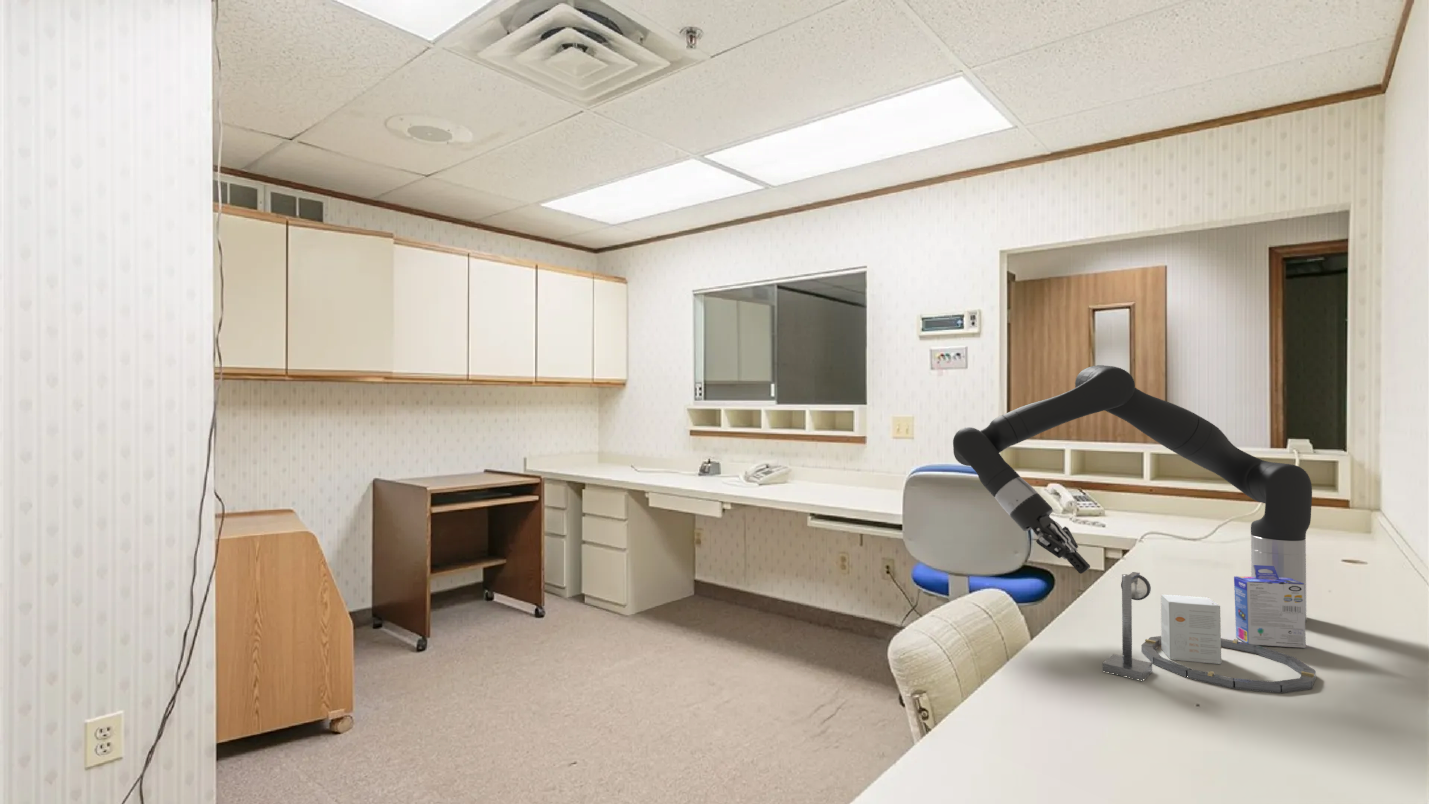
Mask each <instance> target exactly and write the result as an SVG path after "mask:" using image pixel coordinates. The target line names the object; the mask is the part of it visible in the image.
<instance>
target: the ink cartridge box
mask: <svg viewBox="0 0 1429 804" xmlns="http://www.w3.org/2000/svg"><path fill="white" fill-rule="evenodd" d="M1261 569H1268V570H1271V571H1272V572H1273V573H1259V572H1258V570H1261ZM1254 570H1255V575H1256V577H1251V576H1237V575H1236V576H1233V584H1234V587H1233V589H1234V606H1235V609H1234V610H1235V613H1234V615H1235V638H1236V639H1237V640H1240V642H1244V643H1249V644H1254V645H1257V646H1258V645H1259V646H1269V647H1282V648H1283V647H1286V648H1300V649H1301V648H1303V649H1305V648H1306V647H1307V643H1306V642H1307V641H1306V639H1307V638H1306V635H1307V634H1306V621H1305V585H1304V583H1301V582H1298V581H1296V580H1293V579H1291V578H1278V575H1277V572H1276V570H1275V567H1274V566H1262V565H1254Z"/></svg>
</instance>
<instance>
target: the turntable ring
mask: <svg viewBox="0 0 1429 804" xmlns="http://www.w3.org/2000/svg"><path fill="white" fill-rule="evenodd" d="M1160 646H1161V635H1156V636H1150V637H1149V638H1148V639H1147V638H1146V639H1145V641H1144V642H1143V643H1142V644H1141V653H1142V654H1143V655H1144V656H1145V657H1146V658H1147V659H1148V660H1149V661H1150V663H1152V665H1154V664H1155V665H1154V666H1157V667H1159V668H1162V667H1163V668H1162V669H1164V670H1166V669H1167V671H1169V670H1170V671H1169V672H1171V671H1172V672H1171V673H1174V674H1176V673H1178V674H1177V675H1179V674H1180V675H1179V676H1181V675H1182V676H1181V677H1183V676H1185V677H1184V678H1186V677H1187V676H1188V677H1187V679H1190V678H1191V680H1194V679H1196V680H1195V681H1199V682H1202V683H1208V684H1212V685H1215V684H1216V686H1220V687H1224V688H1228V689H1229V688H1230V689H1235V690H1243V691H1252V692H1253V691H1255V692H1265V693H1275V694H1285V693H1292V692H1300V691H1307V690H1312V689H1313V687H1314V684H1315V681H1316V680H1317V679H1316V678H1317V673H1316V671H1317V670H1315V669H1314V668H1312V667H1310V666H1309V665H1307V664H1306V663H1304V662H1303V661H1302V660H1300V659H1298V658H1297V657H1295V656H1292V655H1290V654H1289V655H1288V654H1286V653H1282V652H1280V651H1277V650H1273V649H1270V648H1268V647H1264V646H1263V645H1254V644H1249V643H1245V642H1243V641H1239V639H1238V638H1234V639H1233V640H1232V639H1228V638H1223V637H1221V648H1224V649H1225V648H1226V649H1229V650H1230V649H1231V650H1235V651H1241V652H1246V653H1249V654H1250V653H1252V654H1254V655H1255V654H1256V655H1259V656H1260V657H1265V658H1267V659H1270V660H1273V661H1276V662H1279V663H1281V664H1284V665H1287V666H1288V667H1290V668H1291V669H1293V670H1294V671H1295V672H1297V673H1298V674H1300V677H1298V678H1292V679H1284V680H1277V681H1269V680H1261V679H1260V680H1258V679H1248V678H1247V679H1246V678H1236V677H1228V676H1225V675H1220V674H1215V672H1214V671H1208V672H1207V671H1203V670H1197V669H1194V668H1191V667H1188V666H1185V665H1184V664H1183V665H1182V664H1180V663H1178V662H1176V661H1174V660H1171V659H1168V658H1165V657H1163V656H1162V655H1160V654H1159V653H1158V652H1157V651H1156V649H1158V647H1160ZM1161 647H1162V646H1161Z"/></svg>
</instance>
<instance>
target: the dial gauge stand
mask: <svg viewBox="0 0 1429 804" xmlns="http://www.w3.org/2000/svg"><path fill="white" fill-rule="evenodd" d="M1120 582H1121V583H1120V588H1121V621H1122V623H1121V625H1122V626H1121V627H1122V633H1121V634H1122V635H1121V636H1122V637H1121V638H1122V639H1121V640H1122V641H1121V642H1122V643H1121V645H1122V646H1121V647H1122V651H1121V652H1122V655H1118V654H1114V653H1112V654H1111V655H1110V656H1109V657H1108V658H1106V659H1105V660H1104V661H1103V662H1102V672H1103V671H1105V672H1104V673H1106V672H1109V673H1108V674H1110V673H1114V674H1118V675H1121V676H1120V677H1122V676H1127V677H1130V678H1133V679H1132V680H1134V679H1139V680H1142V681H1141V682H1144V681H1143V679H1145V678H1146V677H1147V678H1148V677H1149V676H1150V675H1151V674H1152V672H1153V663H1152V662H1151V661H1150V662H1149V661H1146V660H1145V661H1144V660H1140V659H1136V658H1133V632H1132V631H1133V626H1132V625H1133V620H1132V619H1133V617H1132V616H1133V614H1132V609H1133V608H1132V607H1133V606H1132V605H1133V604H1132V603H1133V602H1132V600H1134V601H1141V600H1144V599H1146V598H1148V596H1149V595H1150V594H1151V592H1152V586H1151V584H1150V582H1149V580H1148V579H1147V578H1146V577H1145V576H1143V575H1141V573H1140V572H1138V571H1137V572H1136V571H1132V572H1130V573H1128V574H1121V581H1120ZM1114 674H1113V675H1114ZM1118 675H1117V676H1118ZM1130 678H1129V679H1130ZM1147 678H1146V679H1147ZM1146 679H1145V680H1146Z"/></svg>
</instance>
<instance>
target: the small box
mask: <svg viewBox="0 0 1429 804" xmlns="http://www.w3.org/2000/svg"><path fill="white" fill-rule="evenodd" d="M1221 626H1222V625H1221V605H1219V604H1218V602H1216V601H1214V600H1213V599H1212V598H1210V597H1207V596H1205V597H1204V596H1192V595H1191V596H1190V595H1179V594H1178V595H1177V594H1175V595H1174V594H1163V593H1162V594H1160V631H1161V632H1160V634H1161V635H1160V636H1161V650H1162V652H1163V653H1164V654H1165V655H1166V656H1167V657H1168V658H1169V660H1170V661H1174V660H1175V661H1182V662H1183V661H1184V662H1191V663H1192V662H1193V663H1204V664H1215V665H1216V664H1217V665H1221V664H1222V647H1221V638H1222V637H1221V636H1222V634H1221V632H1222V631H1221V630H1222V629H1221Z"/></svg>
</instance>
